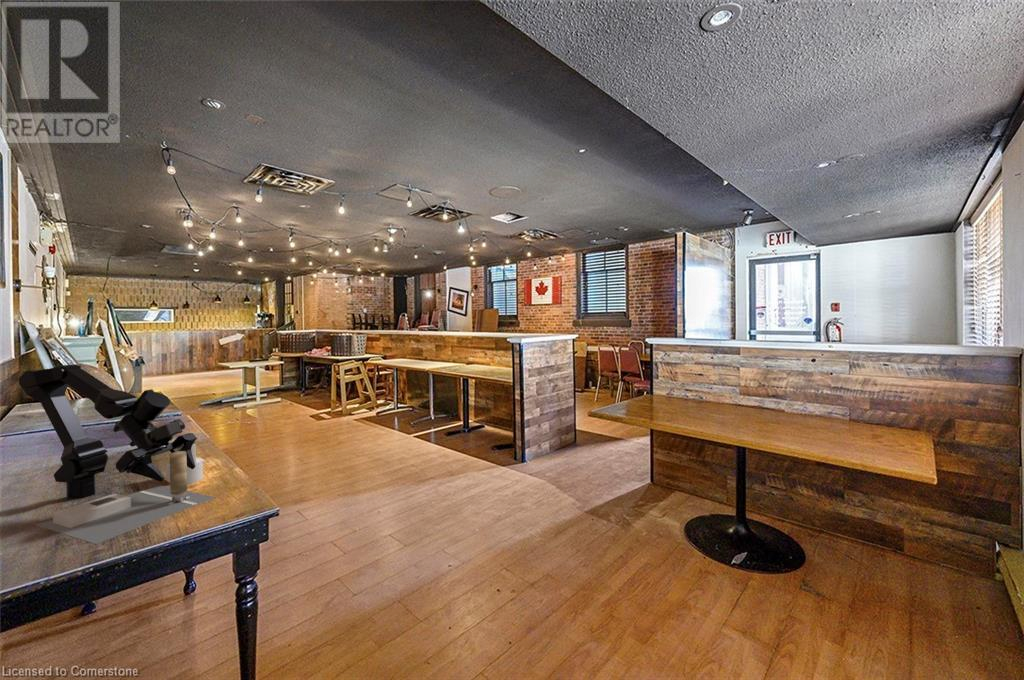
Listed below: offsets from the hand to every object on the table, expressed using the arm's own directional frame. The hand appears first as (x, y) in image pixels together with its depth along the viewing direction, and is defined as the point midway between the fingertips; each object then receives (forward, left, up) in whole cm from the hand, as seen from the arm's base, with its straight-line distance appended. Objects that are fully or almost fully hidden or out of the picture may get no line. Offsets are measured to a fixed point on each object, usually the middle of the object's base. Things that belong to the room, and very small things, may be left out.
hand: (179, 473), depth 113 cm
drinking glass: (-17, +12, -9) cm, 23 cm away
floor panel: (-5, -8, -9) cm, 13 cm away
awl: (0, 0, -7) cm, 7 cm away
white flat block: (-11, -13, -7) cm, 19 cm away
